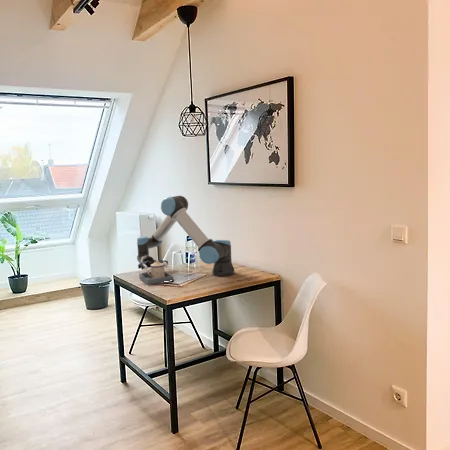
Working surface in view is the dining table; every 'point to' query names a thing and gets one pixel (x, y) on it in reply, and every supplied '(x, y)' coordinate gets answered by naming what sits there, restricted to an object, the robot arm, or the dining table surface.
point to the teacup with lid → (157, 270)
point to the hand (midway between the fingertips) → (156, 266)
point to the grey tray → (150, 281)
